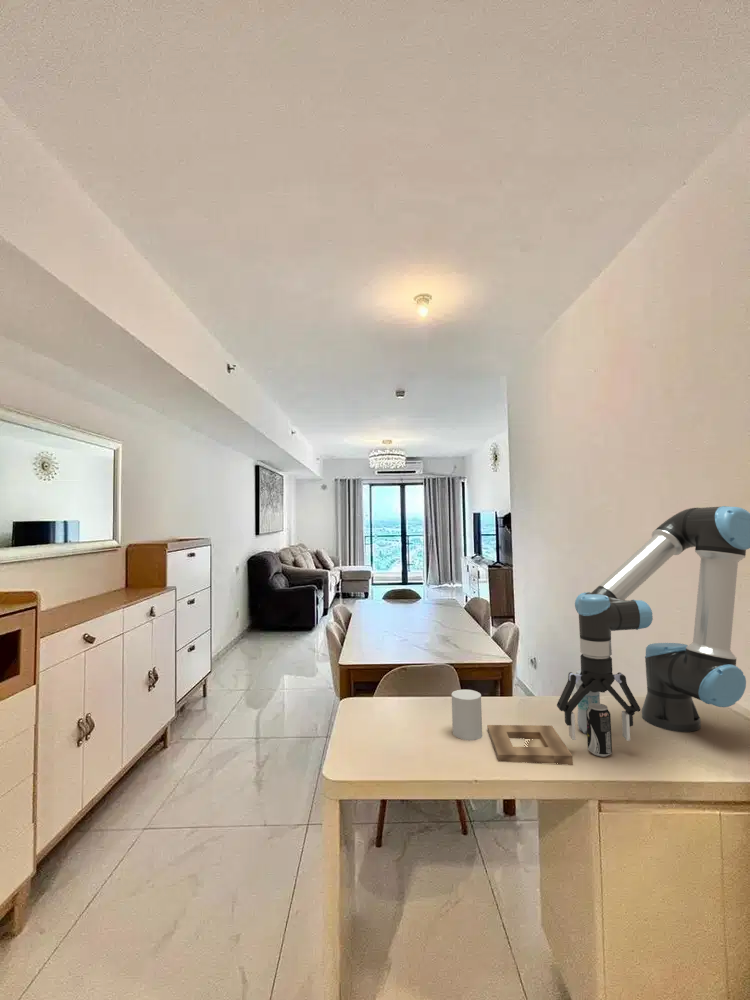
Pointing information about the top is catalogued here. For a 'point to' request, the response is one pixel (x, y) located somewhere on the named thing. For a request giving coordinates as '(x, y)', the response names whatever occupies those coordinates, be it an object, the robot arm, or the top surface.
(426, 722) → the top surface
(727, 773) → the top surface
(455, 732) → the cup
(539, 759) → the socket block
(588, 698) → the bottle
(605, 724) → the beverage can
